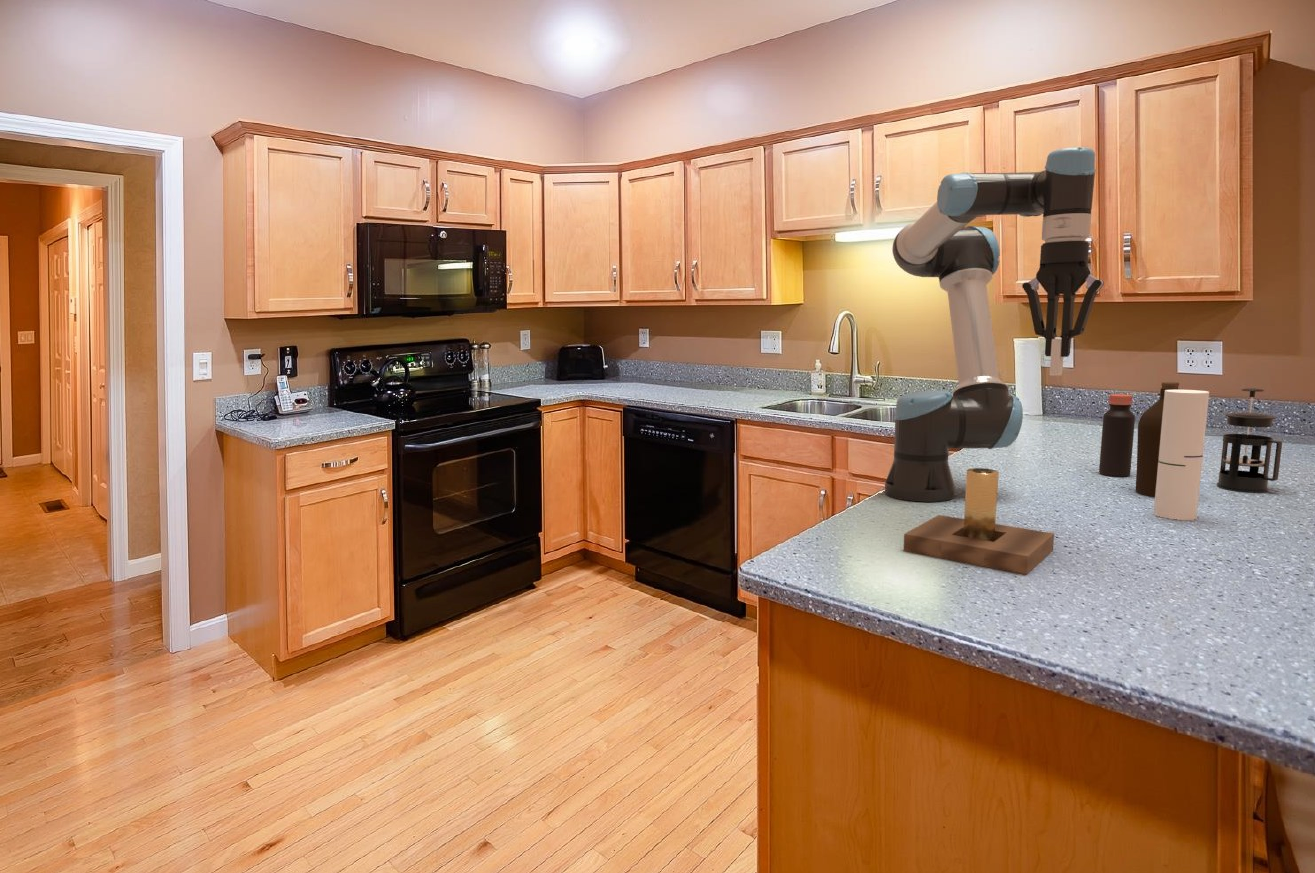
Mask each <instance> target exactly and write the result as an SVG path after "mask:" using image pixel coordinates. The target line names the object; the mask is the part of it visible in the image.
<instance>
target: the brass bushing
mask: <svg viewBox="0 0 1315 873" xmlns="http://www.w3.org/2000/svg"><path fill="white" fill-rule="evenodd" d="M999 474H1000V473H999V470H996V469H990V468H983V467H973V468H968V469H966V479H965V496H964V497H965V499H964V514H963V515H964V517H963V519H964V531H963V537H968V538H973V539H979V540H985V541H991V542H994V539H995V524H997V523H996V521H997V507H998V506H997V503H998V490H999Z"/></svg>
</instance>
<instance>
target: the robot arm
mask: <svg viewBox="0 0 1315 873" xmlns="http://www.w3.org/2000/svg"><path fill="white" fill-rule="evenodd" d="M1095 159H1096V152H1095V151H1094V150H1093V149H1092V148H1090V147H1088V146H1087V147H1086V146H1085V147H1084V146H1083V147H1081V146H1076V147H1074V146H1073V147H1066V148H1060V149H1056V150H1053V151H1051V152H1050V153H1048V155H1047V158H1046V163H1045V166H1044V169H1045V170H1041V171H1032V172H1030V171H1029V172H1025V171H1024V172H1023V171H1022V172H961V173H951V174H947V175H945V176H944V177H943V178H942V179H941V181H940V185H939V186H938V189H937V196H936V202H935V203H933V205H932V206H930V208H929V209H928V210H926V211H925V212H924V213H923V215H921V216H920V218H918V219H917V220H916V221H915V222H911V223H908V224H907V225H905V226H904V227H903V228H902V229H901V230H900V231H898V233H897V234H896V235H895V237H894V240H893V242H892V248H891V249H892V256H893V258H894V261H895V262H896V265H898V267H899V268H900V269H901V270H902V271H904V272H905V273H907V274H908V275H912V276H914V277H919V278H920V277H921V278H938V282H939V287H940V289H942V290H943V291H945V292H946V293H947V298H948V305H949V306H948V307H949V314H950V316H949V317H950V323H951V332H952V340H953V348H954V356H955V357H954V358H955V365H956V372H957V373H956V374H957V381H958V385H957V386H956V387H955V389H954V390H953V391H952V392H951V391H950V390H943V389H942V390H941V389H940V390H939V389H938V390H924V391H923V390H922V391H917V392H911V393H908V394H904V395H901V396H900V397H899V398H898V399H897V401H896V404H895V405H896V406H895V413H894V445H893V446H894V447H893V448H894V449H893V461H892V462H891V463H892V464H891V466H890V469H889V472H888V475H887V477H886V479H885V482H884V493H885V495H886V496H888V497H891V498H894V499H899V500H904V501H905V500H906V501H911V502H913V501H914V502H925V503H926V502H927V503H929V502H930V503H931V502H945V501H950V500H953V499H955V496H956V486H955V482H954V478H953V475H952V472H951V468H950V464H949V452H950V450H952V449H957V450H958V449H988V450H993V449H998V448H999V449H1000V448H1002V449H1003V448H1007V447H1009V446H1011V445H1013V444H1014V442H1015V441H1016V439H1017V438H1018V437H1019V434H1020V432H1021V430H1022V425H1023V414H1024V412H1023V404H1022V402H1021V401H1020V398H1019V397H1018V396H1015V395H1014V394H1013V395H1012V394H1011V395H1010V392H1009V386H1008V384H1007V383H1005V382H1004V381H1003V380H1000V373H999V368H998V359H997V352H996V347H995V339H994V330H993V324H992V323H993V322H992V316H991V310H990V308H991V307H990V301H989V294H988V287H987V285H988V284H989V283H990V282H991V281H992V279H993V275H994V274H995V273H996V272H997V270H998V269H999V268H998V267H999V265H1000V258H999V257H1000V256H1001V251H1000V250H1001V249H1000V244H999V241H998V238H997V236H996V234H995V233H994V232H993V231H992V230H991V229H990V228H987V227H985V226H975V225H969V224H970V223H971V222H972V221H973V220H975V219H976V218H977V217H979V216H996V215H997V216H1000V215H1001V216H1003V215H1004V216H1011V215H1015V216H1016V215H1017V216H1018V215H1019V216H1020V217H1025V218H1026V217H1039V216H1042V227H1041V240H1042V241H1044V243H1042V245H1040V254H1039V255H1040V258H1039V268H1038V270H1037V272H1036V273H1035V277H1034V278H1032V279H1030V280H1029V281H1027V282H1023V283H1022V285H1021V287H1022V289H1023V291H1024V292H1025V294H1026V295H1027V299H1028V303H1029V304H1028V305H1029V309H1030V315H1031V320H1032V323H1033V331H1034V334H1035V335H1037V336H1039V337H1043V338H1044V340H1045V346H1044V356H1045V357H1050V362H1049V376H1052V377H1054V376H1055V377H1060V376H1062V375H1063V372H1064V371H1063V370H1064V357H1065V358H1067V357H1070V354H1071V344H1072V342H1071V341H1072V339H1073V338H1074V337H1077V336H1080V335H1083V333H1084V332H1085V328H1086V326H1087V323H1088V319H1089V317H1090V314H1091V311H1092V308H1093V305H1094V302H1095V300H1096V296H1097V294H1098V292H1100V290H1101V289H1102V287H1103V286H1104V284H1105V282H1104V281H1103V280H1101V279H1098V278H1096V277H1094V276H1093V275H1092V274H1091V270H1090V268H1089V250H1090V243H1089V241H1087V240H1086V239H1089V238H1090V237H1091V226H1092V208H1093V198H1094V185H1095V175H1096V171H1097V170H1096V168H1095V166H1096V165H1095V163H1096V162H1095V161H1096V160H1095ZM1085 283H1086V285H1085V288H1086V289H1087V290H1086V292H1085V294H1084V296H1083V297H1084V298H1083V300H1082V303H1081V305H1080V309H1079V311H1078V315H1077V317H1076V320H1075V323H1074V313H1075V312H1074V310H1075V300H1076V294H1077V292H1078V291H1079V290H1080V289H1081V287H1082V286H1083V285H1084V284H1085ZM1039 284H1040V285H1041V287H1042V288H1043V290H1044V291H1045V292H1046V293H1047V296H1046V300H1047V304H1046V306H1047V307H1046V318H1045V319H1046V321H1044V316H1043V311H1042V306H1041V301H1040V300H1041V299H1040V296H1039V293H1038V290H1039V289H1040V286H1039ZM1060 295H1062V299H1063V300H1062V301H1063V303H1062V304H1063V306H1062V318H1061V319H1062V321H1061V331H1060V332H1061V334H1060V338H1057V337H1058V334H1057V330H1058V329H1057V325H1058V312H1059V302H1060ZM1073 324H1074V325H1073ZM1073 326H1074V327H1073Z"/></svg>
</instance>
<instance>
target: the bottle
mask: <svg viewBox="0 0 1315 873" xmlns="http://www.w3.org/2000/svg"><path fill="white" fill-rule="evenodd" d="M1133 397H1134V396H1133V395H1132V394H1119V393H1117V394H1115V393H1114V394H1109V397H1108V406H1109V410H1107V411H1106V412H1105V413H1104V414H1103V416H1102V418H1103V419H1102V427H1101V429H1102V430H1101V440H1100V454H1099V455H1100V456H1099V466H1098V468H1099V469H1098V473H1099V474H1100V475H1103V476H1106V477H1115V478H1125V477H1130V475H1131V470H1132V469H1131V468H1132V458H1133V448H1134V446H1133V445H1134V435H1135V434H1134V433H1135V424H1136V423H1135V422H1136V416H1135V414H1134V413H1133V412H1132V411H1131V407H1132V405H1133Z"/></svg>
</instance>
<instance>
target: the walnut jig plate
mask: <svg viewBox="0 0 1315 873" xmlns="http://www.w3.org/2000/svg"><path fill="white" fill-rule="evenodd" d="M963 531H964V518H960V517H954V516H948V515H941V514H937V515H936V516H934V517H932V518H931V519H929V520H927V521H925V522H923V523H921V524H920V525H918V526H916V527H914V528H912V529H911V530H909V531H907V532H905V533H904V534H903V551H905V552H909V553H914V554H919V555H925V556H930V557H934V558H940V559H945V560H950V561H953V562H960V563H966V564H971V565H976V566H981V567H987V568H990V569H991V568H992V569H995V570H1001V571H1006V572H1011V573H1016V574H1021V575H1025V576H1026V575H1028V574H1030V572H1031V571H1033V570H1034V568H1035V567H1037V566H1038V565H1039V564H1040V563H1041V562H1042V561H1043V560H1044V559H1046V558H1047V557H1048V555H1050V554H1051V552H1053V551H1054V542H1055V533H1054V532H1048V531H1042V530H1035V529H1029V528H1022V527H1016V526H1009V525H1004V524H999V523H995V539H994V542H991V541H985V540H979V539H973V538H968V537H963Z"/></svg>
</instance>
